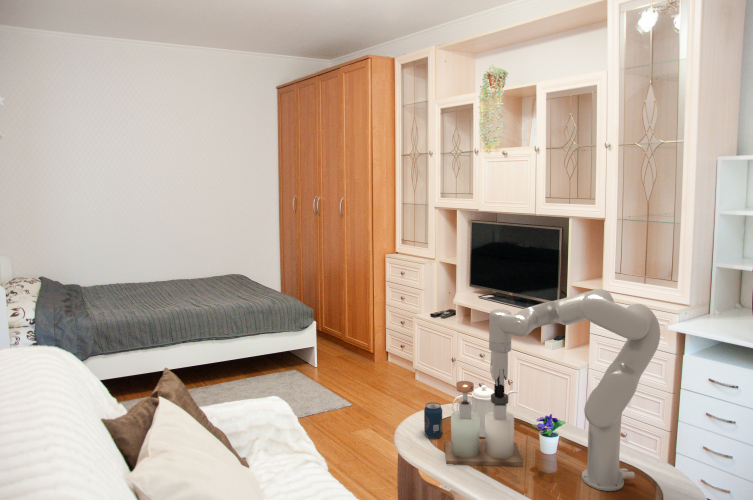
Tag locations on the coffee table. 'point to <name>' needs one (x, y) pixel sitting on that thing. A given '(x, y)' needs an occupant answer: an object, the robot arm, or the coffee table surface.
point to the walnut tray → (482, 457)
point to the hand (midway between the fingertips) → (499, 395)
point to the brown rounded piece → (465, 389)
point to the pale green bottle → (465, 432)
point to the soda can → (433, 420)
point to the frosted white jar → (499, 433)
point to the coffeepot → (481, 405)
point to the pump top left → (499, 399)
